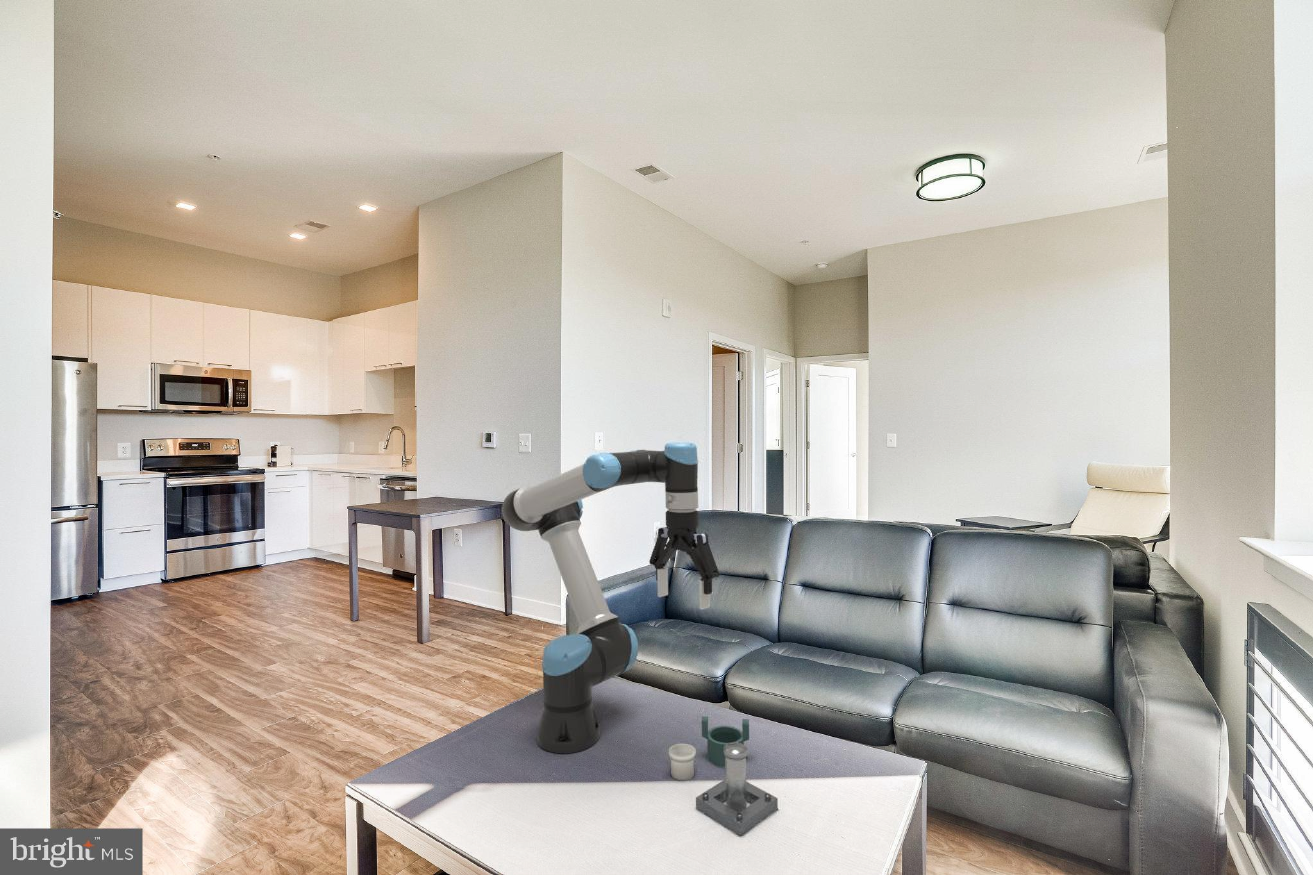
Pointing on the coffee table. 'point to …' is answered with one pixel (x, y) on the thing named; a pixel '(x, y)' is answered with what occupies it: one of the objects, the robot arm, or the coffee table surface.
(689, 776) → the cup
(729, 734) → the green cup holder
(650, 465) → the robot arm
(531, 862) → the coffee table surface
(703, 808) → the socket
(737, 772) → the grey cylinder
